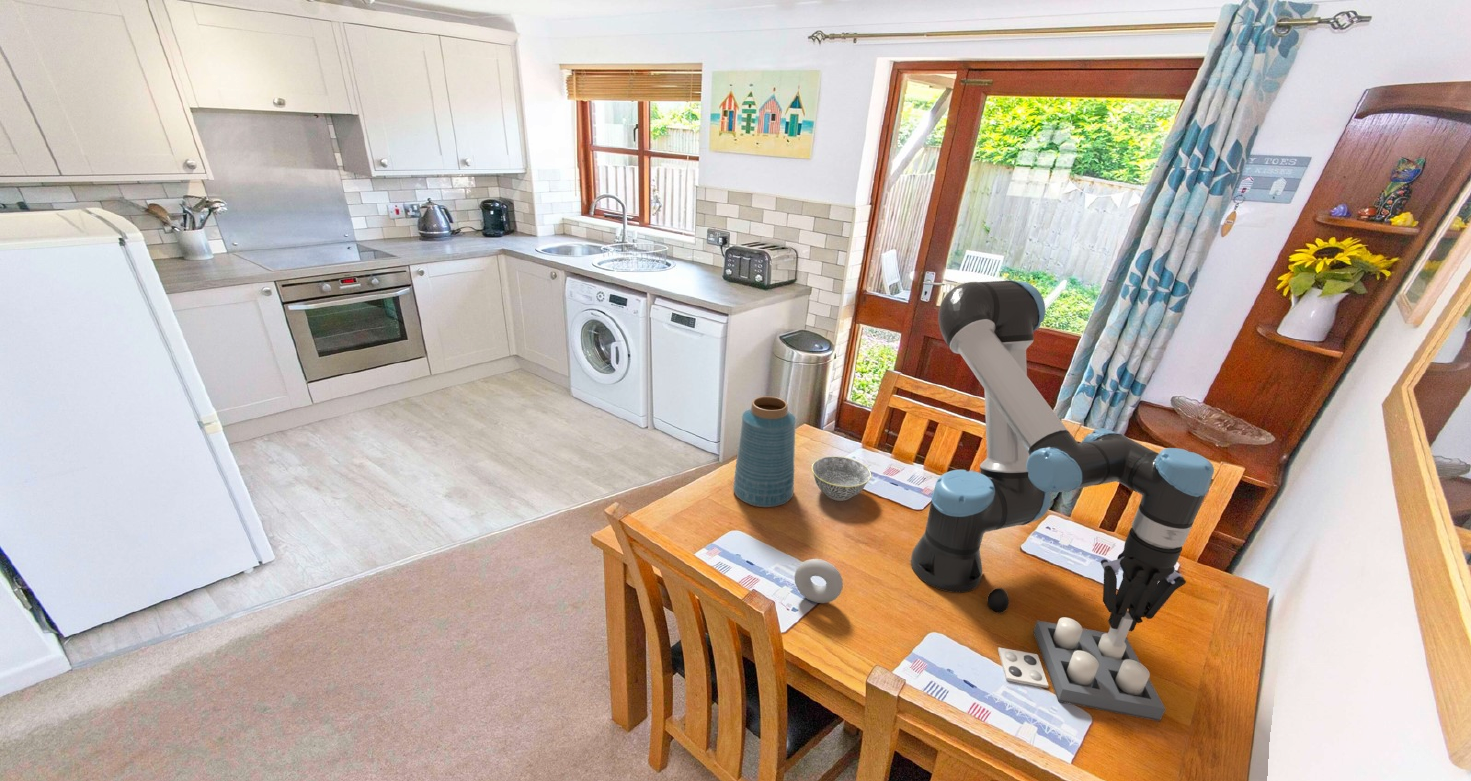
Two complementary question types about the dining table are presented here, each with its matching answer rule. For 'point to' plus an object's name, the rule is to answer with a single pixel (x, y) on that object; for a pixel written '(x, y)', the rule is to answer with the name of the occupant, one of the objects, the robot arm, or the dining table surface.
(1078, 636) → the button
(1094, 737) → the dining table surface
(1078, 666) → the button
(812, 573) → the donut
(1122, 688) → the button
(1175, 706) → the dining table surface
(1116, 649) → the button
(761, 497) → the vase
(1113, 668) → the board
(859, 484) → the bowl
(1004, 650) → the card
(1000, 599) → the egg
